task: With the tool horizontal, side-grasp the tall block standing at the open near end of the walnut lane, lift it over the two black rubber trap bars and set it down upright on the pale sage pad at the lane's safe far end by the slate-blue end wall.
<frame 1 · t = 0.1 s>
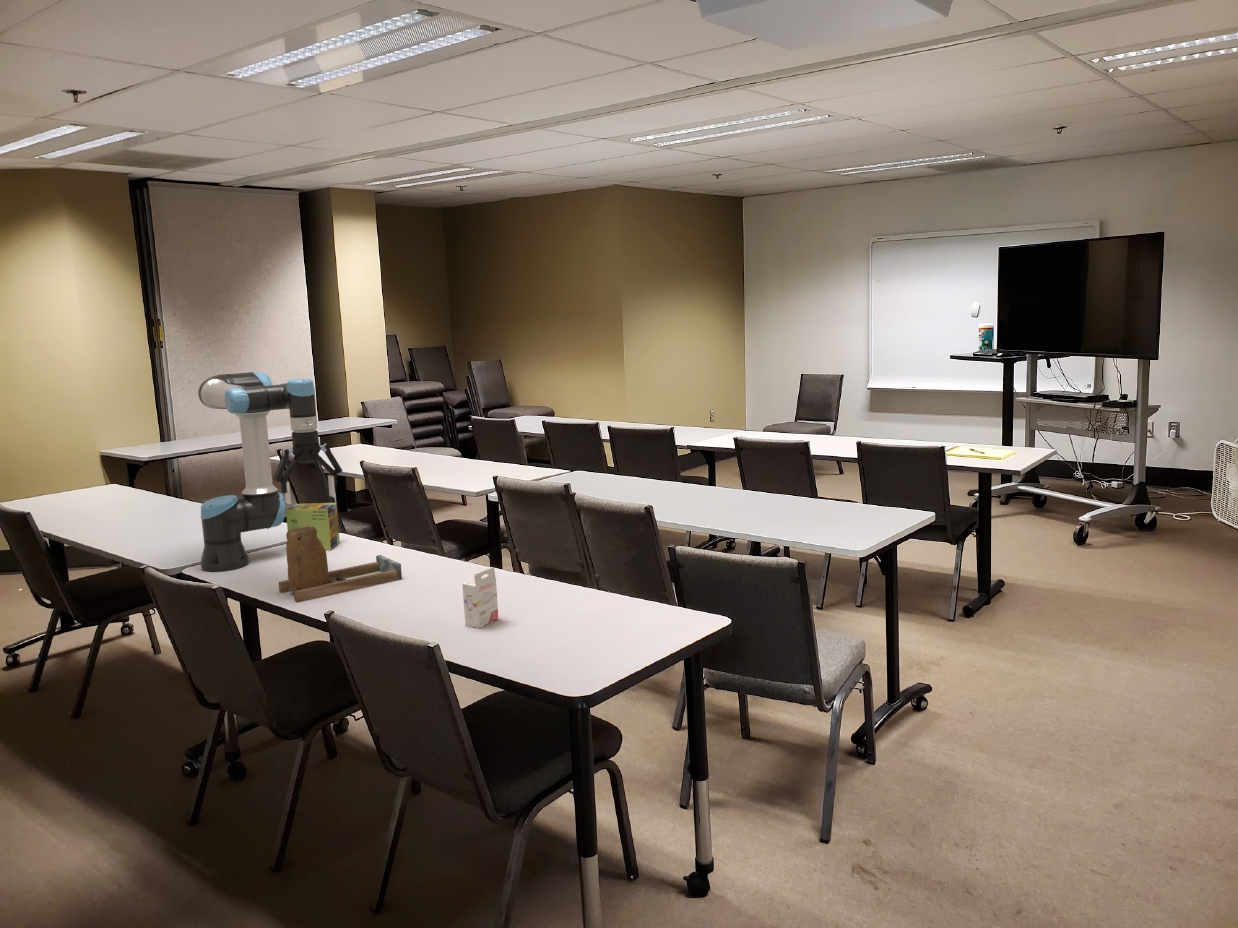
hand: (310, 499, 280), 28 cm above the table, tool pointing down, fingers open, 13 cm apart
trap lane: (341, 585, 287), on the table
protein box: (315, 548, 335), on the table
ink cartridge box: (481, 622, 249), on the table
block: (310, 592, 281), on the table
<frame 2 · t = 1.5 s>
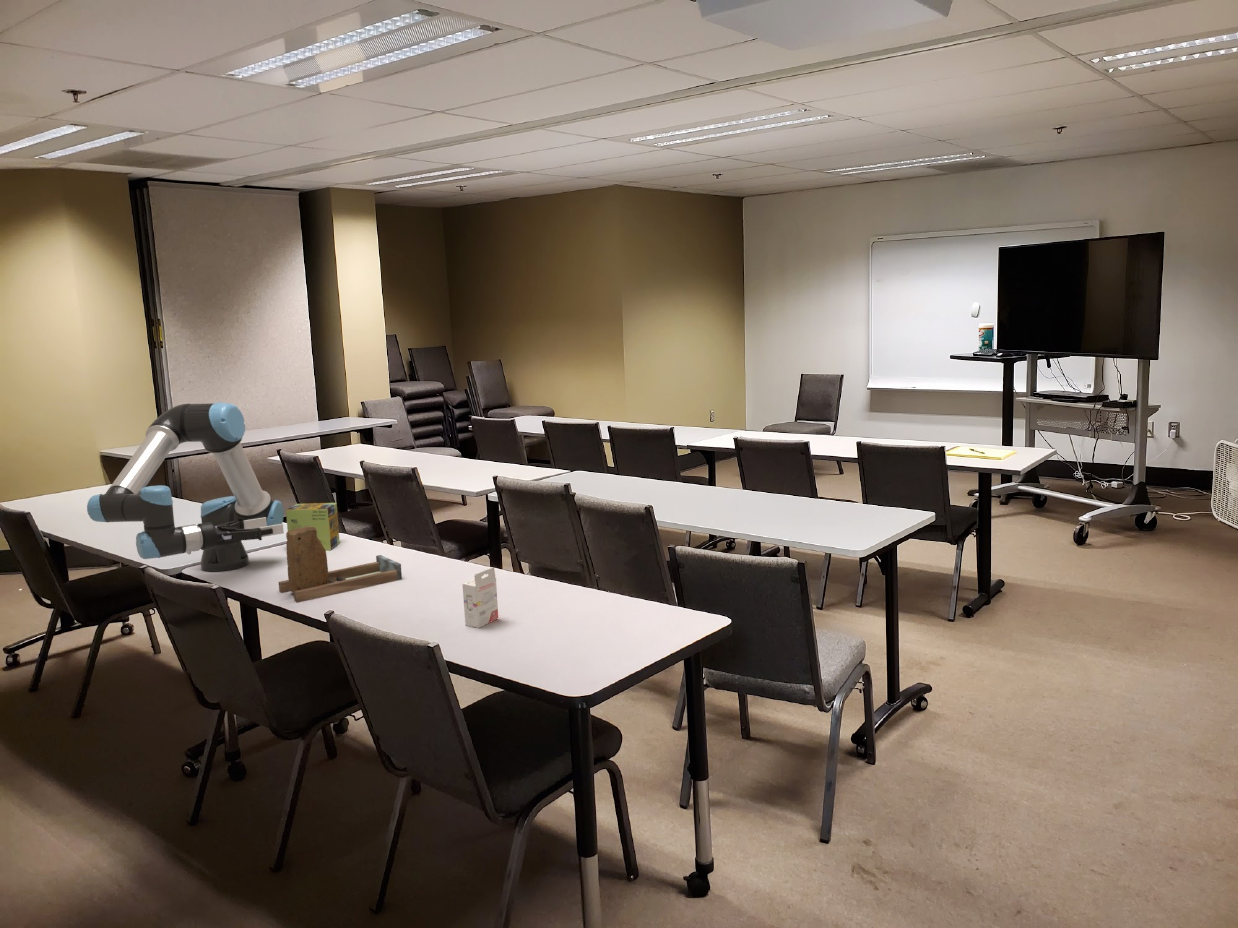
hand: (274, 525, 272), 22 cm above the table, tool horizontal, fingers open, 13 cm apart
nothing on the table moved.
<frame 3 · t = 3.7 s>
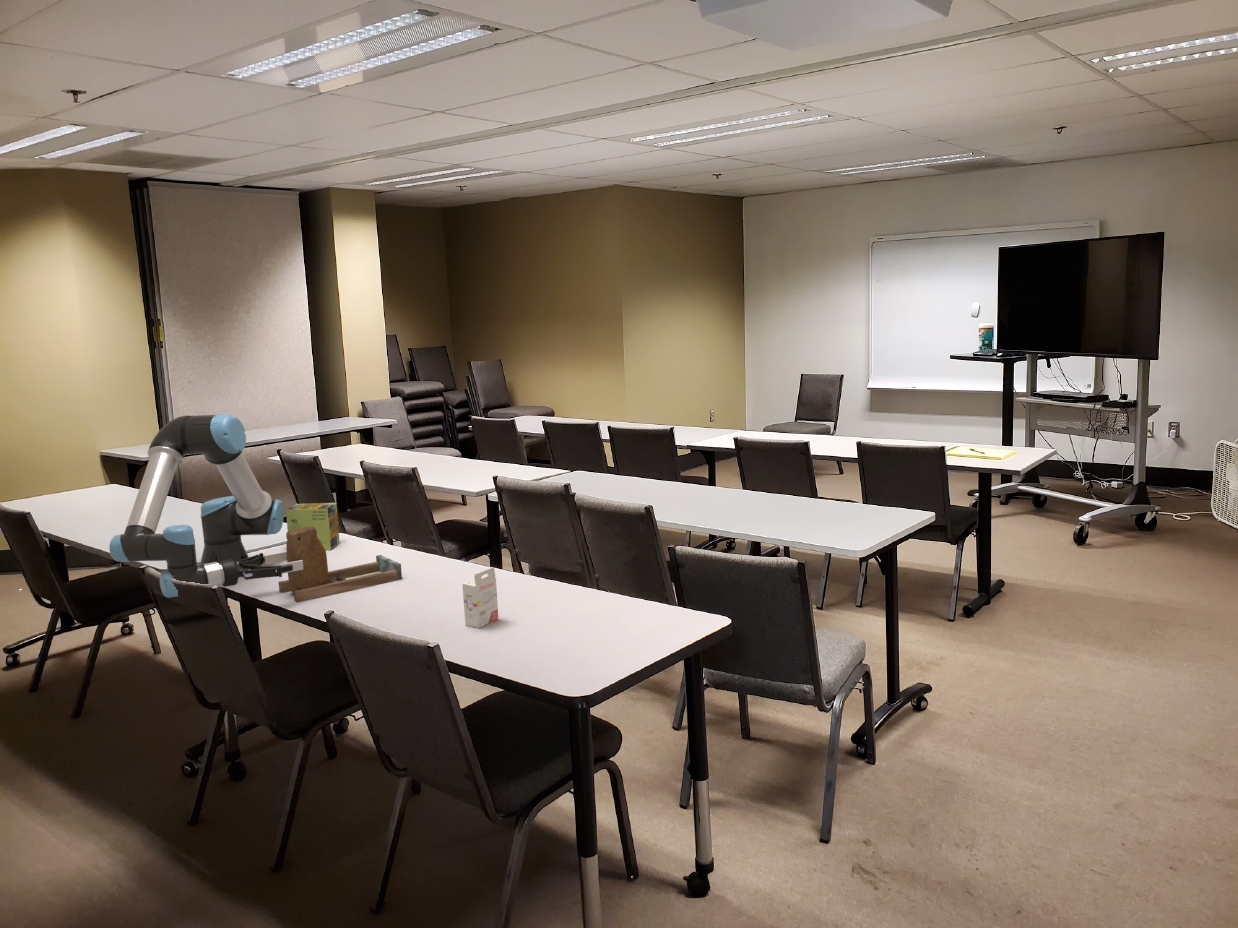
hand: (294, 560, 276), 11 cm above the table, tool horizontal, fingers open, 13 cm apart
nothing on the table moved.
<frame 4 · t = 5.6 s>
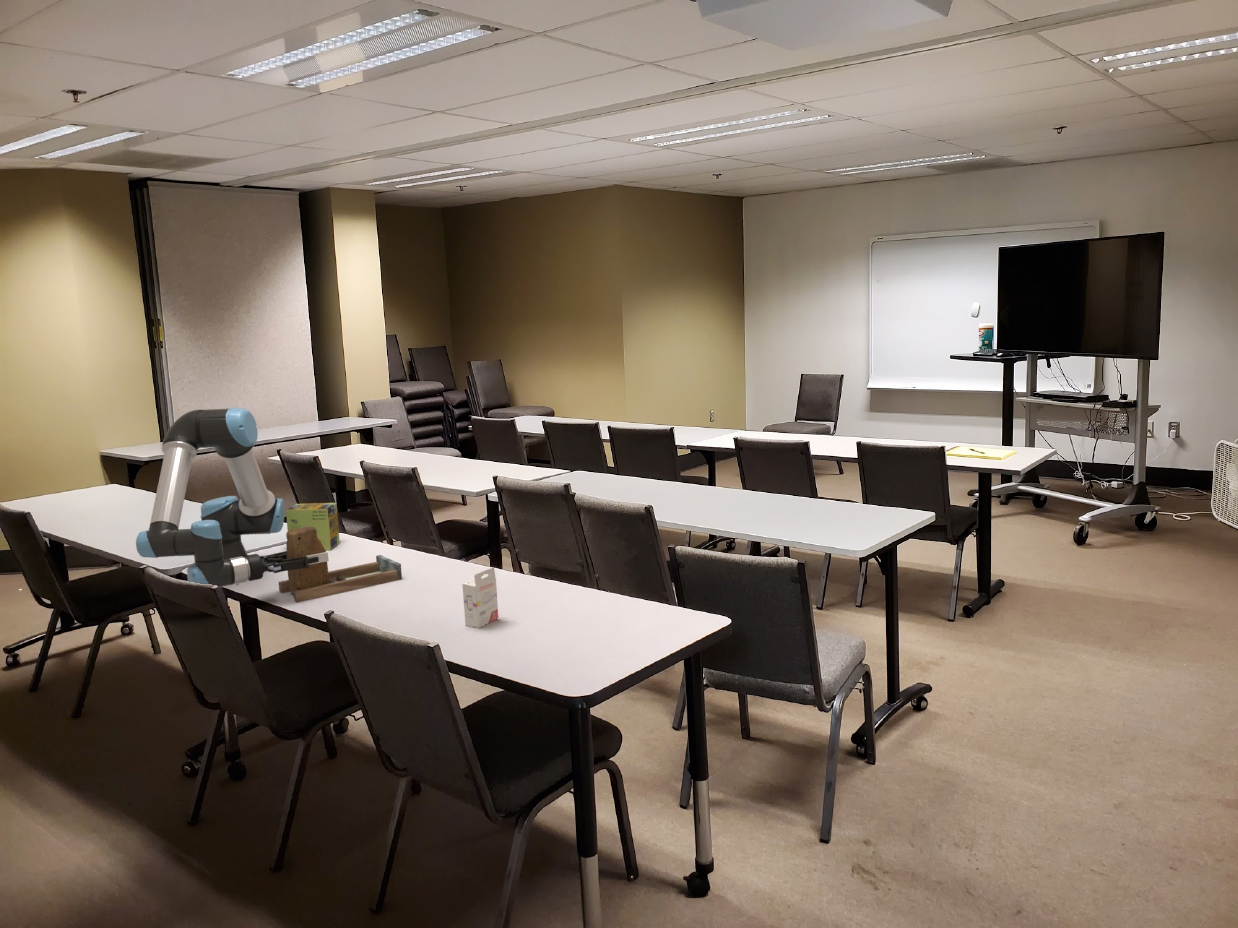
hand: (322, 553, 282), 11 cm above the table, tool horizontal, fingers closed on block, 7 cm apart
block: (310, 592, 281), on the table, touching gripper
everything else where it was.
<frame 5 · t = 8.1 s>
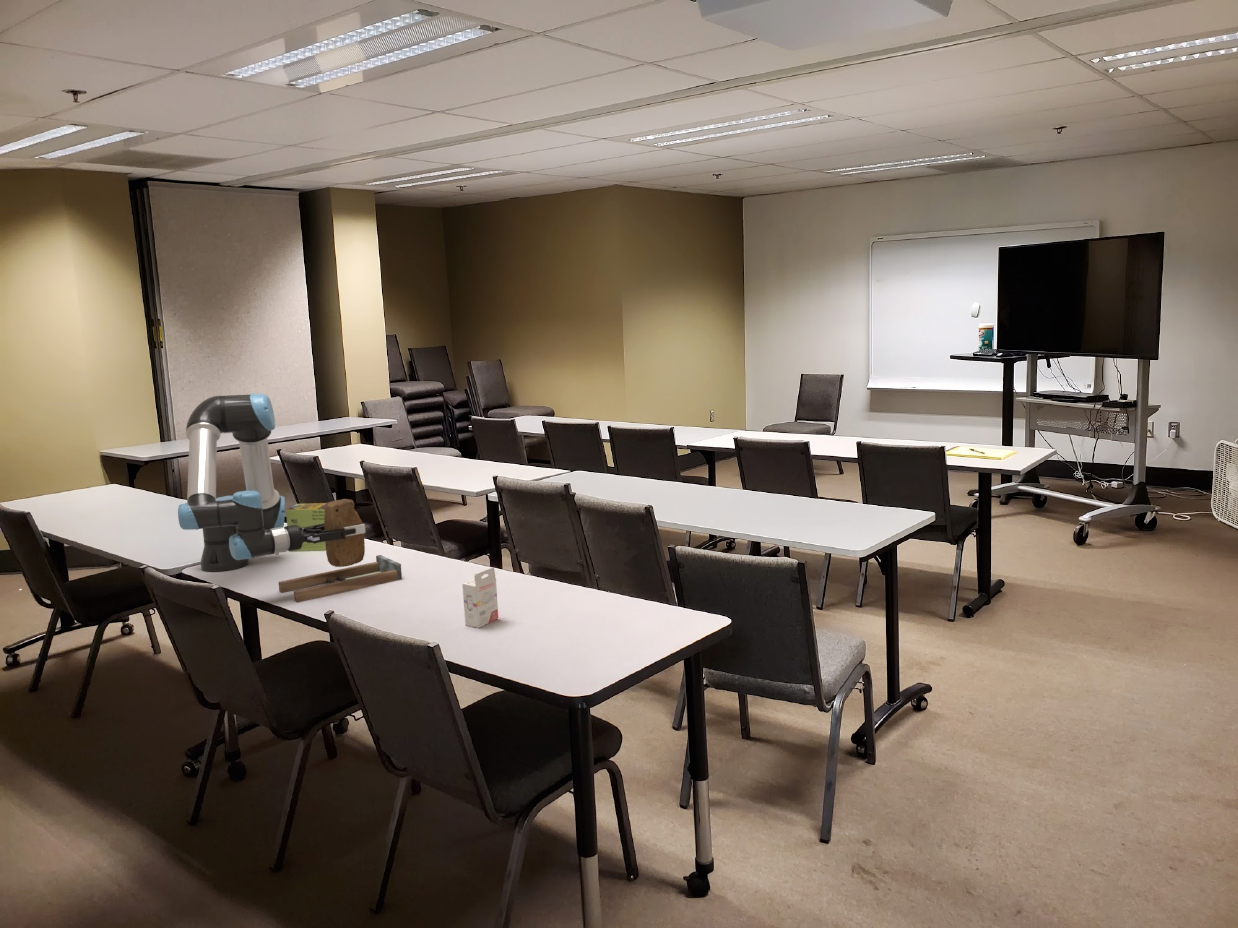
hand: (359, 526, 287), 18 cm above the table, tool horizontal, fingers closed on block, 7 cm apart
block: (346, 564, 286), point 7 cm above the table, touching gripper
everything else where it was.
when the fingers open (12 cm above the table, at t = 10.5 s): block drops 1 cm, resting on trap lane.
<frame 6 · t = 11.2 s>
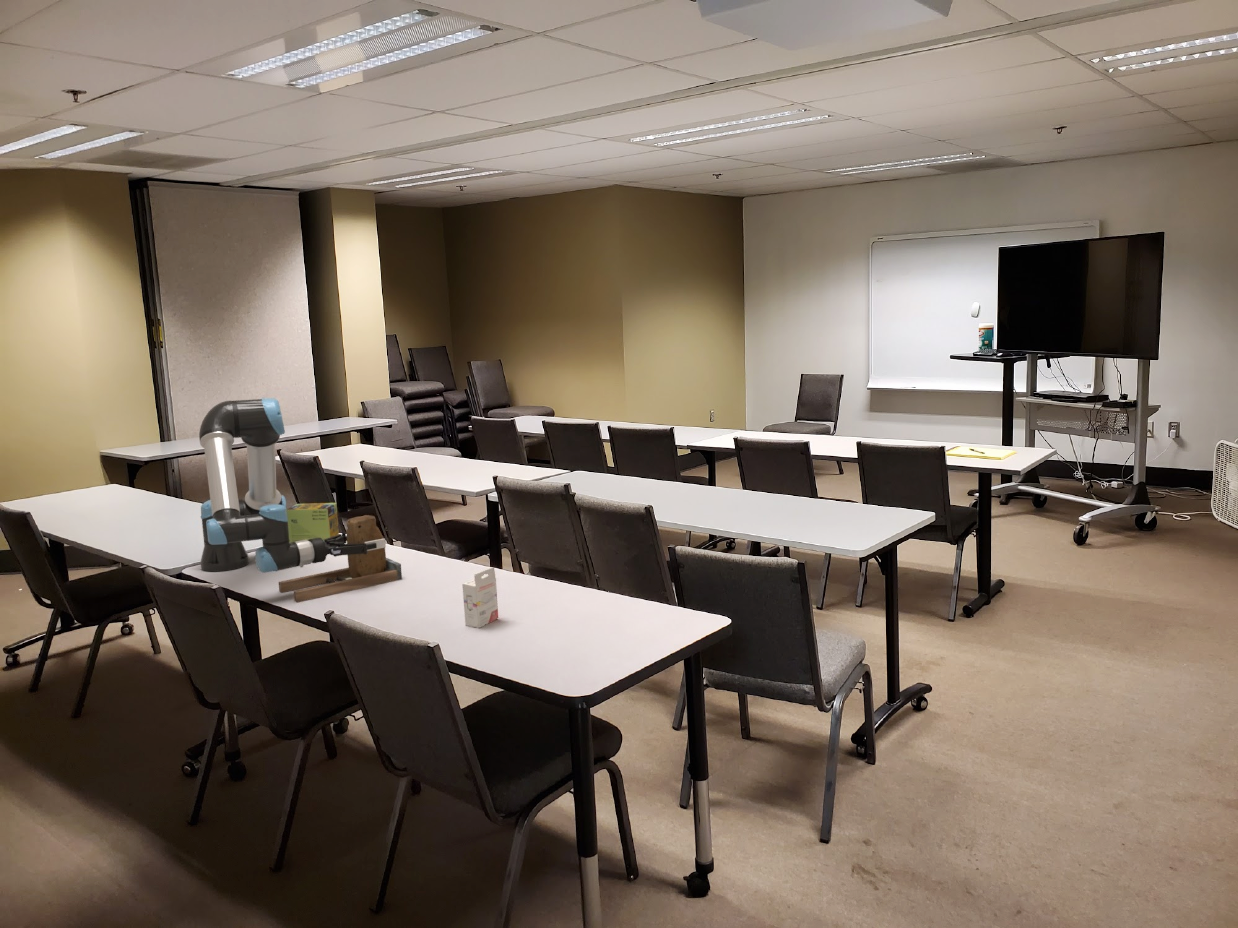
hand: (375, 539, 293), 12 cm above the table, tool horizontal, fingers open, 13 cm apart
block: (368, 578, 293), resting on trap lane
everything else where it was.
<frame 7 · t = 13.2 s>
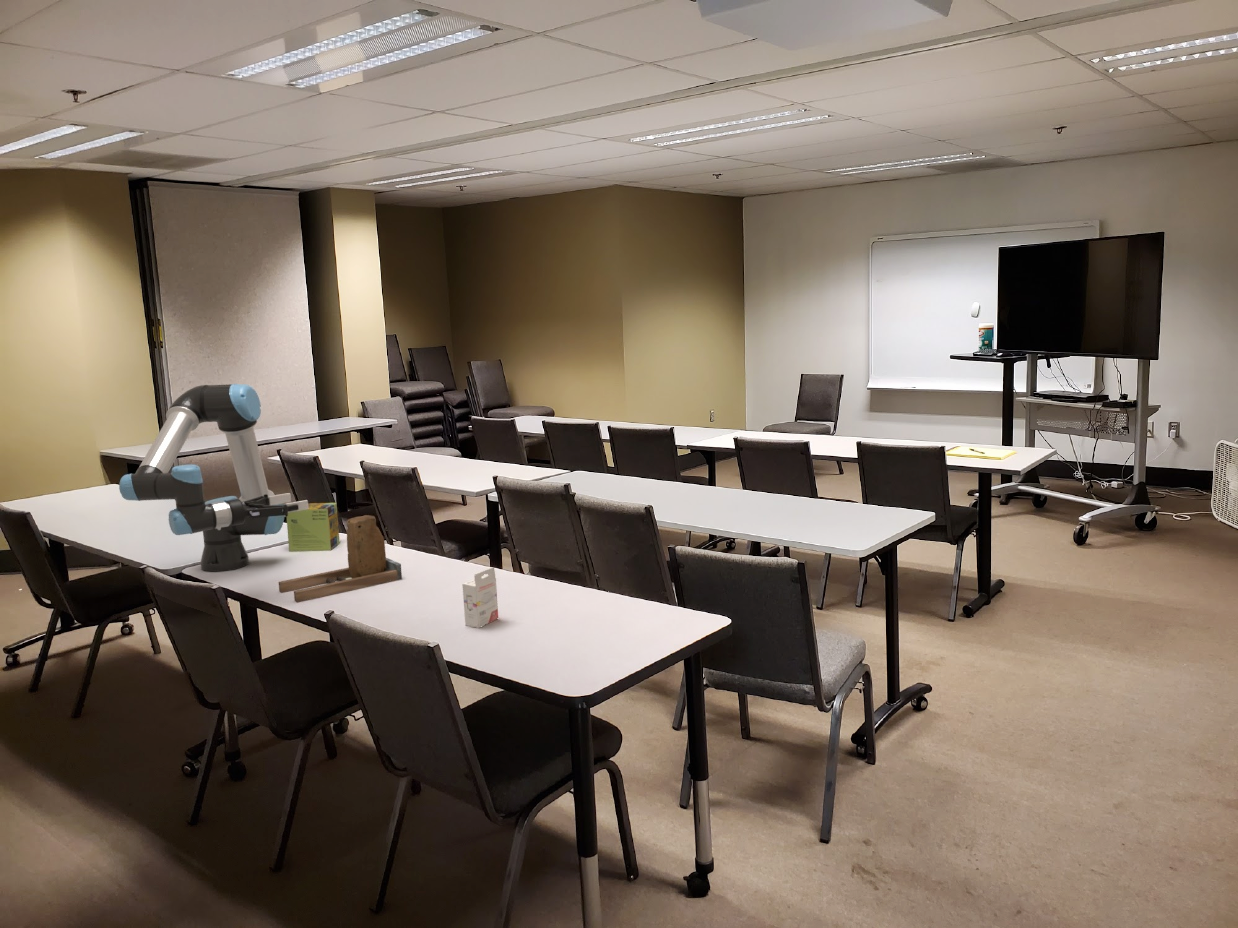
hand: (299, 500, 283), 27 cm above the table, tool horizontal, fingers open, 13 cm apart
nothing on the table moved.
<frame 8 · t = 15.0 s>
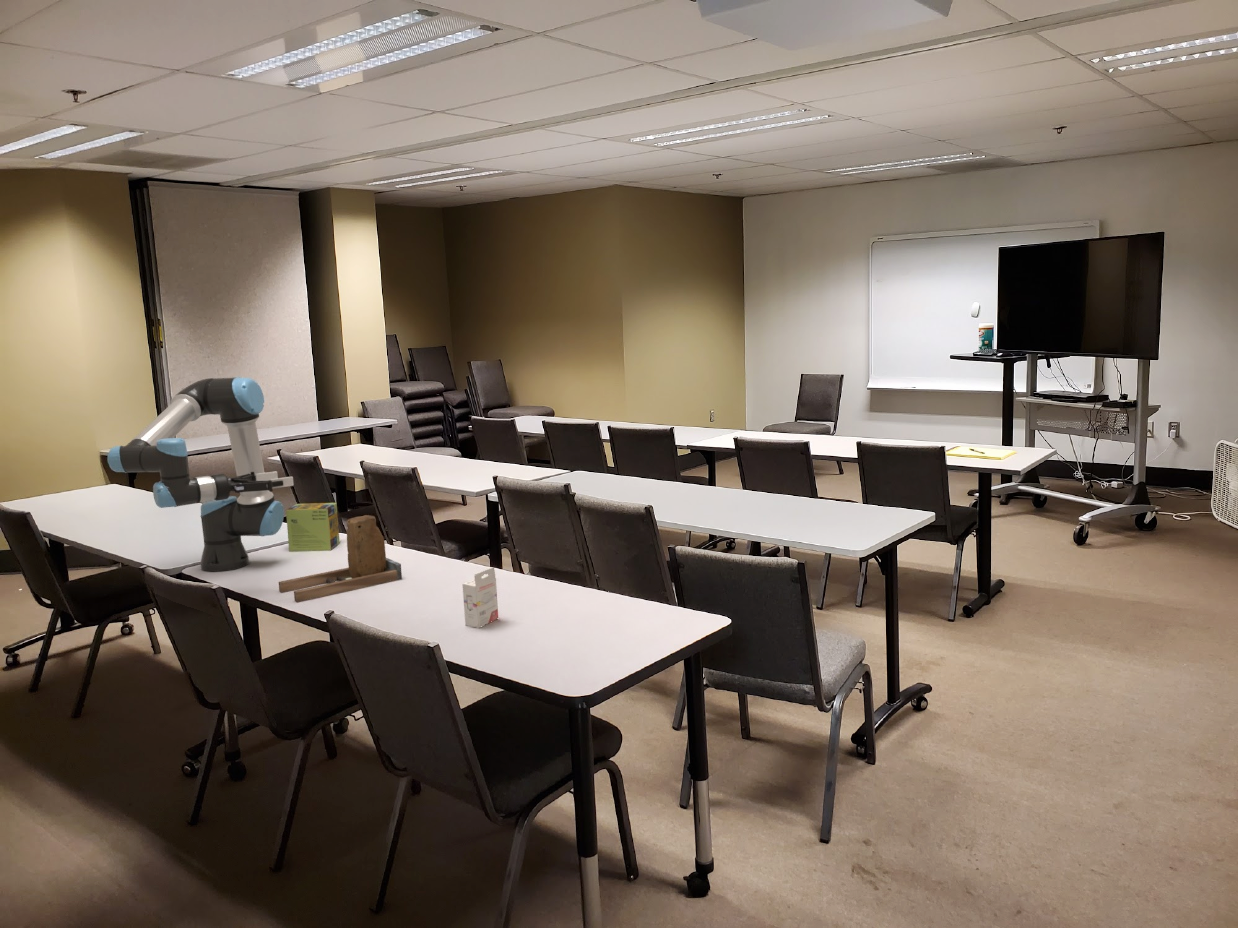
hand: (285, 478, 283), 34 cm above the table, tool horizontal, fingers open, 13 cm apart
nothing on the table moved.
at the end: block inside the target area (0.1 cm from its centre), resting on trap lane; block tilted 0°; the gripper is holding nothing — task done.
